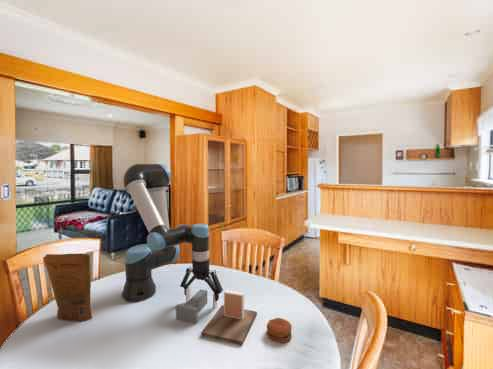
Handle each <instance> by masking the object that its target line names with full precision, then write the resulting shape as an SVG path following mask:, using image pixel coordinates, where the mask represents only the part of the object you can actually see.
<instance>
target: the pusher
mask: <svg viewBox="0 0 493 369" xmlns="http://www.w3.org/2000/svg"><path fill="white" fill-rule="evenodd" d="M207 304H208V290H205V289H199V290H198V291H197V292H196V293H195V294H194V295H193V296H192V297H190V300H189V301H188V302H187V303H186V302H185V304H179V303H178V304H176V306H175V314H176V315H175V316H176V319H175V320H176V321H180V322H183V323H189V324H192V325H197V323H198V321H199V319H198V314H200V312H201V311H202V310H203V309H204V308H205V306H206V305H207Z"/></svg>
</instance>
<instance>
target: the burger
mask: <svg viewBox="0 0 493 369" xmlns="http://www.w3.org/2000/svg"><path fill="white" fill-rule="evenodd" d="M292 328H293V327H292V323H291V322H289V320H287V319H284V318H282V317H276V318H273V319H269V320H268V321H267V324H266V329H267V330H266V336H267V338H268V339H269V340H271V341H274V342H277V343H282V344H285V343H287V342H290V341H291V339H292Z"/></svg>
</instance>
